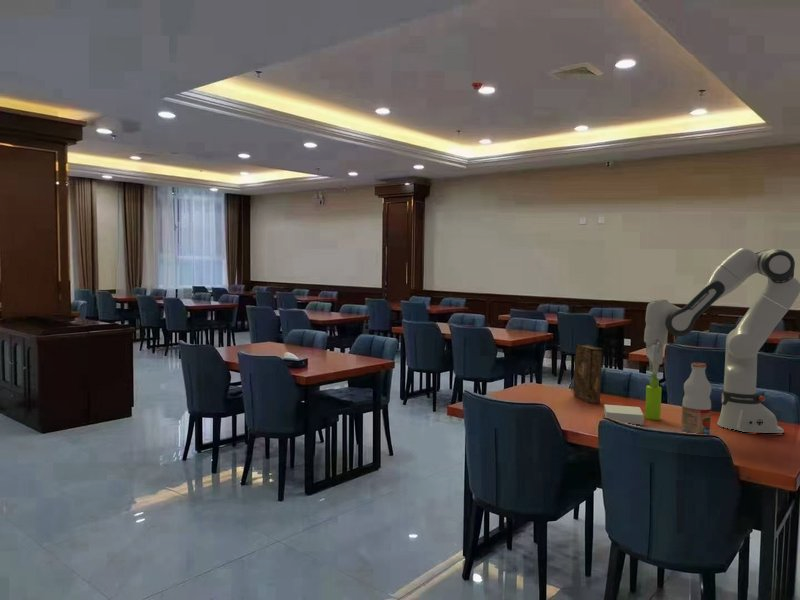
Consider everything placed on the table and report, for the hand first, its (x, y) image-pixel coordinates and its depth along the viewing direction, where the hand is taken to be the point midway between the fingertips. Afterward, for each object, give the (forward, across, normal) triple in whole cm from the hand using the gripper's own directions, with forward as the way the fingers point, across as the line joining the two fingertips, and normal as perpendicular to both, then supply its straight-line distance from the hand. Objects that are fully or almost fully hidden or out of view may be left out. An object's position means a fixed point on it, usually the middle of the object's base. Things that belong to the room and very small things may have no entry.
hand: (653, 371), depth 246 cm
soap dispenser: (+20, 0, -1) cm, 20 cm away
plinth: (+20, -7, +11) cm, 24 cm away
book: (+20, +26, +24) cm, 41 cm away
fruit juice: (+19, -28, -12) cm, 36 cm away
